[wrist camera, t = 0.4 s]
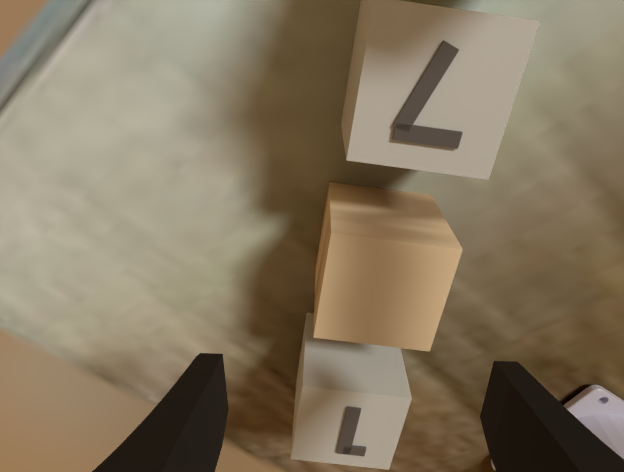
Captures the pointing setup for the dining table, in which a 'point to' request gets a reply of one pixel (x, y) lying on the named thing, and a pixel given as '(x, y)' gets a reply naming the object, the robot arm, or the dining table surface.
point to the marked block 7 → (432, 86)
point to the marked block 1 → (348, 402)
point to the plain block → (382, 267)
